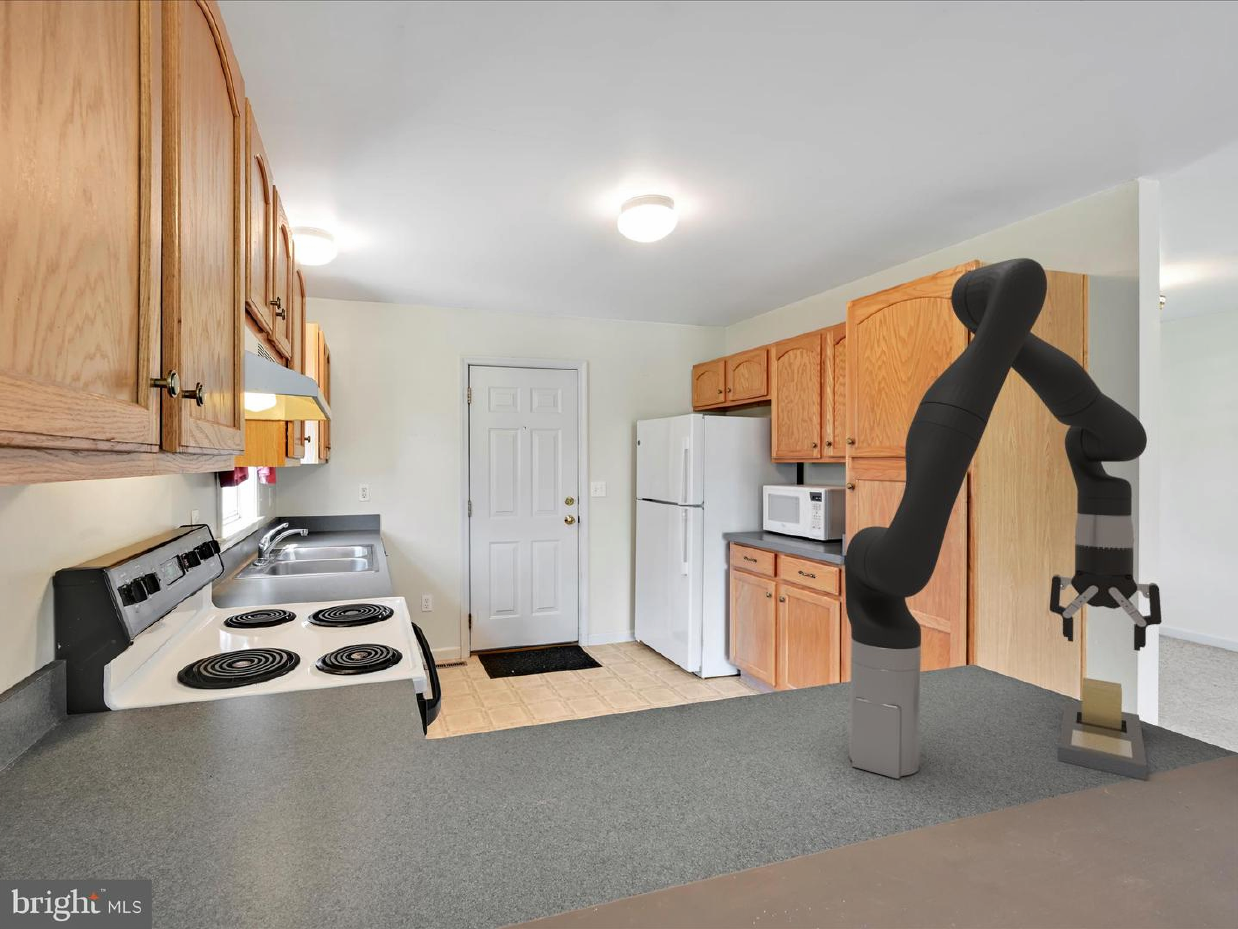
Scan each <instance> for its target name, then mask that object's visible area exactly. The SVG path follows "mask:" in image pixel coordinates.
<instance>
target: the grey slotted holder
mask: <svg viewBox="0 0 1238 929" xmlns="http://www.w3.org/2000/svg"><path fill="white" fill-rule="evenodd" d="M1131 718H1132V719H1131ZM1060 728H1061V729H1060V733H1059V739H1058V740H1059V741H1058V746H1057V747H1058V748H1057V749H1058V750H1057V761H1058V762H1063V763H1067V764H1071V765H1076V766H1080V767H1085V768H1090V769H1094V770H1099V771H1102V772H1106V773H1107V772H1108V773H1110V774H1116V775H1120V776H1125V777H1129V778H1133V779H1137V780H1142V781H1146V782H1147V780H1148V779H1147V777H1148V763H1147V759H1146V758H1147V757H1146V751H1145V746H1144V739H1143V732H1142V726H1141V720H1140V715H1139V714H1137V713H1131V712H1126V711H1122V720H1121V732H1119V731H1114V730H1109V729H1104V728H1098V727H1093V726H1088V725H1083V724H1082V703H1078V702H1071V701H1066V700H1065V702H1064V708H1063V717H1062V721H1061V727H1060Z"/></svg>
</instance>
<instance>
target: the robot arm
mask: <svg viewBox="0 0 1238 929" xmlns="http://www.w3.org/2000/svg"><path fill="white" fill-rule="evenodd" d="M1047 279H1048V278H1047V274H1046V271H1045V270H1044V267H1043V266H1042V265H1041V263H1039V262H1038V261H1037V260H1035V259H1033V258H1028V257H1023V258H1022V257H1020V258H1019V257H1018V258H1012V259H1008V260H1003V261H999V262H996V263H992V264H989V265H984V266H981V267H978V268H975V269H972V270H969V271H967V272H965V273H964V274H962V275H961V276H959V277H958V279H957V280H956V281H955V283H954V285H953V287H952V290H951V296H950V297H951V298H950V302H951V306H952V310H953V312H954V314H955V317H956V318H957V319H958V320H959V322H960V323H961V324H962V325H963V327H965V328H966V329H967V330H968V331H969V332H971V334H973V335H974V336H973V337H972V340H971V341H970V342H969V344H968V345H967V346H966V348H965V349H964V350H963V351H962V353H961V354H960V355H959V356H958V357H957V358H956V359H955V360H954V361H953V362H952V363H951V364H950V365H949V366H948V367H947V368H946V369H945V370H944V371H943V372H942V373H941V374H940V375H939V376H938V377H937V378H936V379H935V381H934V382H933V383H932V384H931V385H930V386H929V387H928V389H927V390H926V391H925V393H924V395H922V396H923V397H922V398H921V400H920V403H919V404H918V407H917V409H916V412H915V414H914V417H913V419H912V421H911V423H910V425H909V426H910V427H909V429H908V431H907V435H906V440H905V452H904V453H905V454H904V455H905V457H904V458H905V486H904V491H903V494H902V497H901V500H900V502H899V505H898V507H897V509H896V512H895V513H894V516H893V519H892V521H891V522H890V524H889V526H888V527H885V526H877V525H876V526H868V527H864V528H862V529H860V530H858V532H856V533H855V534H854V535H853V536H852V538H851V540H850V541H849V543H848V546H847V548H846V552H845V557H844V558H845V562H844V584H845V585H844V586H845V590H844V592H845V610H846V615H847V618H848V622H849V624H850V632H851V634H850V638H851V640H850V642H851V643H850V683H849V684H850V685H849V686H850V688H849V690H850V691H849V695H850V696H849V698H850V699H849V700H850V701H849V746H848V747H849V749H848V750H849V754H848V755H849V756H848V757H849V759H850V760H851V763H852V764H851V766H852V767H853V768H857V769H861V770H865V771H868V772H872V773H876V774H879V775H883V776H887V777H888V778H889V777H890V778H893V779H900V778H901V777H903V776H910V775H913V774H916V773H917V772H918V771H919V770H920V741H921V740H920V733H921V732H920V731H921V730H920V728H921V726H920V724H921V722H920V721H921V719H920V718H921V668H922V666H921V665H922V664H921V663H922V662H921V660H922V628H921V624H920V623H919V621H918V620H916V618H915V616H914V615H913V614H912V613H911V611H910V609H909V607H908V605H907V602H906V598H911V597H913V596H915V595H917V594H919V593H920V592H921V591H922V590H924V588H925V587H926V586H927V585H928V583H929V582H930V580H931V578H932V576H933V573H934V572H935V569H936V566H937V564H938V561H939V558H940V557H939V556H940V553H941V550H942V549H941V548H942V546H943V542H944V540H945V539H944V538H945V534H946V530H947V528H948V526H949V524H948V523H949V521H950V518H951V514H952V512H953V508H954V506H955V503H956V500H957V498H958V496H959V493H960V490H961V488H962V485H963V483H964V480H965V478H966V475H967V473H968V470H969V467H970V465H971V463H972V461H973V459H974V456H975V453H976V452H977V450H978V447H979V445H980V444H981V440H982V438H983V435H984V433H985V430H986V428H987V425H988V423H989V420H990V417H991V414H992V412H993V409H994V406H995V404H996V402H997V400H998V397H999V395H1000V393H1001V391H1002V389H1003V386H1004V384H1005V382H1006V379H1007V378H1008V375H1009V372H1010V371H1011V369H1012V370H1014V371H1015V372H1016V373H1017V374H1018V375H1019V377H1021V378H1022V379H1023V380H1024V381H1025V382H1026V383H1027V384H1028V386H1029V387H1030V388H1031V389H1032V390H1033V391H1034V392H1035V393H1036V395H1037V396H1038V398H1039V399H1040V400H1041V401H1042V402H1043V404H1044V405H1045V407H1046V408H1047V410H1049V412H1050V413H1051V414H1052V415H1053V417H1054V418H1055V419H1056V420H1057V421H1058V422H1059V423H1061V424H1063V425H1066V426H1068V429H1067V431H1066V433H1065V438H1064V450H1065V453H1066V456H1067V460H1068V462H1069V466H1070V468H1071V472H1072V476H1073V478H1074V479H1073V480H1074V481H1075V485H1076V490H1077V493H1076V494H1077V495H1076V496H1077V498H1076V499H1077V501H1076V503H1077V504H1076V506H1077V507H1076V508H1077V509H1076V510H1077V511H1076V512H1077V514H1076V522H1075V527H1074V528H1075V530H1074V532H1075V533H1074V541H1075V542H1074V575H1073V576H1072V577H1066V576H1061V575H1060V574H1053V575H1052V577H1051V586H1050V597H1049V598H1050V600H1049V611H1050V612H1051V613H1053V614H1054V613H1055V614H1057V615H1059V616H1061V618H1062V635H1063V637H1064V638H1067V642H1070V643H1071V642H1072V643H1073V642H1074V614H1076V612H1078V611H1079V610H1081V608H1082V607H1083V606H1084V605H1085V604H1087V605H1088V606H1091V607H1094V608H1095V607H1096V608H1101V607H1105V608H1108V609H1114V610H1116V609H1119V608H1122V609H1123V610H1124V611H1125V613H1126V614H1127V615H1128V616H1129V617H1130V618H1131V619H1132V620H1133V622H1134V624H1133V650H1134V651H1139V652H1140V651H1141V648H1145V646H1146V644H1147V641H1146V640H1147V628H1148V627H1149V626H1154V625H1160V624H1162V621H1163V620H1162V610H1161V607H1162V606H1161V595H1160V594H1161V593H1160V587H1159V585H1158V584H1157V583H1154V582H1150V583H1149V584H1148V583H1136V581H1135V580H1134V546H1135V545H1134V543H1135V538H1134V533H1135V532H1134V525H1133V519H1132V518H1133V517H1132V512H1133V511H1132V504H1133V502H1132V501H1133V499H1132V497H1133V496H1132V495H1133V494H1132V492H1133V491H1132V490H1133V489H1132V485H1131V483H1130V481H1129V480H1127V479H1125V478H1122V477H1117V476H1112V475H1110V474H1108V473H1107V472H1106V470H1105V469H1104V466H1103V462H1104V463H1108V462H1109V463H1110V462H1111V463H1113V462H1114V463H1117V462H1118V463H1119V462H1120V463H1121V462H1130V461H1134V460H1136V459H1138V458H1139V457H1140V456H1141V455H1142V454H1143V453H1144V452H1145V449H1146V448H1147V442H1148V437H1147V432H1146V430H1145V428H1144V426H1143V424H1142V423H1141V422H1140V420H1139V419H1138V418H1137V417H1136V415H1134V414H1132V413H1131V412H1130V411H1129V410H1128V409H1126V408H1125V407H1123V406H1122V405H1120V404H1119V403H1118V402H1116V401H1115V400H1113V399H1112V398H1111V397H1109V396H1108V395H1106V394H1104V393H1103V392H1102V391H1101V390H1100V388H1099V386H1098V385H1097V384H1096V382H1095V381H1094V380H1093V379H1092V377H1091V376H1090V375H1089V373H1088V372H1087V371H1086V369H1085V368H1084V367H1083V366H1082V365H1081V364H1080V363H1079V362H1078V361H1077V360H1076V359H1074V358H1073V357H1072V356H1071V355H1069V354H1068V353H1066V352H1064V351H1063V350H1060V349H1059V348H1058V347H1056V346H1054V345H1052V344H1050V343H1049V342H1047V341H1045V340H1043V339H1042V338H1040V337H1039V336H1037V335H1035V334H1034V333H1033V332H1032V329H1033V327H1034V325H1035V323H1036V322H1037V320H1038V318H1039V315H1040V313H1041V311H1042V310H1043V306H1044V304H1045V300H1046V296H1047V292H1048V291H1047V290H1048V280H1047ZM1069 585H1071V586H1072V588H1073V589H1074V590H1075V592H1076V593H1077V594H1078V595H1077V596H1076V597H1075V598H1074V599H1072V601H1071V602H1070V603H1069V604H1068V605H1067V606H1066V607H1064V606H1062V605H1060V602H1061V600H1060V599H1061V591H1064V590H1066V589H1067V586H1069ZM1137 591H1139V592H1141V593H1142V594H1141V595H1142V596H1143V597H1144V598H1145V599H1149V600H1148V602H1149V615H1144V616H1143V614H1142V613H1141V612H1140V611H1139V610H1138V608H1136V606H1135V605H1134V603H1133V602H1131V601H1130V599H1131V598H1132V597H1133V596H1134V595H1135V594H1136V593H1137Z"/></svg>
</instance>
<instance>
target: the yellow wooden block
mask: <svg viewBox="0 0 1238 929" xmlns="http://www.w3.org/2000/svg"><path fill="white" fill-rule="evenodd" d="M1081 686H1082V688H1081V691H1082V692H1081V693H1082V694H1081V704H1082V724H1083V725H1088V726H1093V727H1098V728H1104V729H1109V730H1114V731H1119V732H1121V720H1122V712H1123V709H1122V708H1123V706H1122V704H1123V703H1122V702H1123V700H1122V699H1123V692H1122V683H1118V682H1113V681H1112V682H1111V681H1107V680H1106V681H1105V680H1100V679H1094V678H1088V677H1082V685H1081Z"/></svg>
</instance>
